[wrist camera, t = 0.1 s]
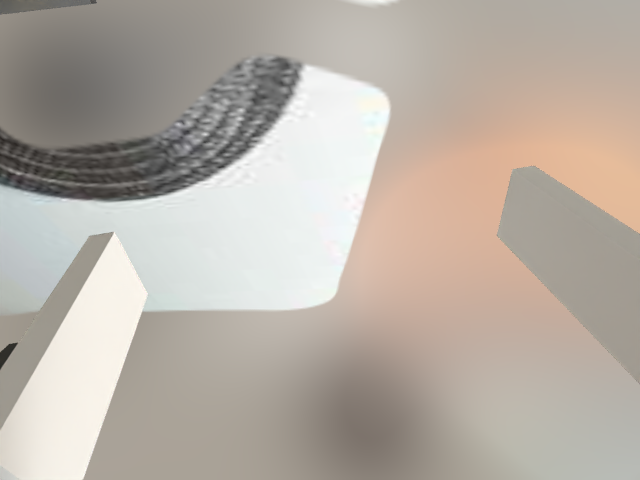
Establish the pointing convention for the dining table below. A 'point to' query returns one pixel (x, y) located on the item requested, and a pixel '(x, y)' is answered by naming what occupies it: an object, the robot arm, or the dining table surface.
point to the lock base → (38, 5)
